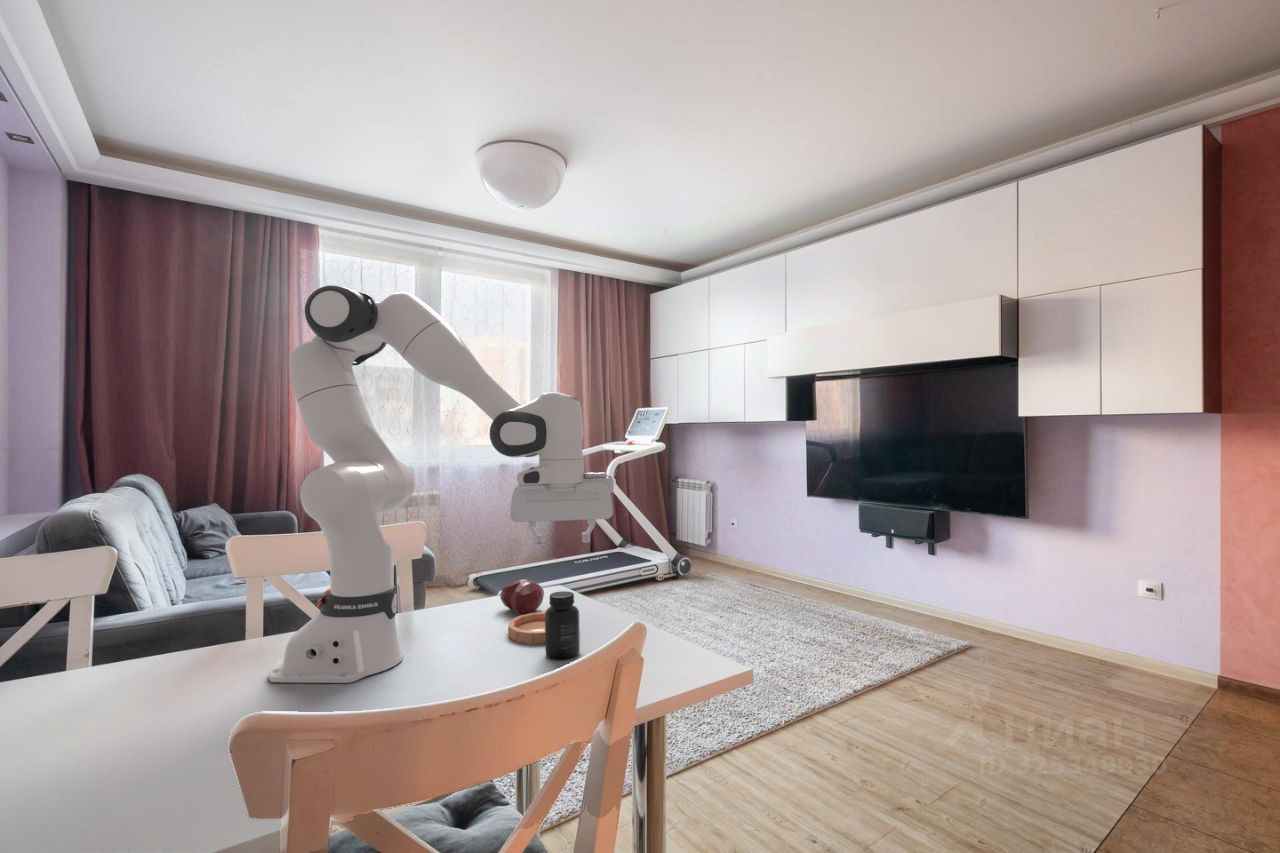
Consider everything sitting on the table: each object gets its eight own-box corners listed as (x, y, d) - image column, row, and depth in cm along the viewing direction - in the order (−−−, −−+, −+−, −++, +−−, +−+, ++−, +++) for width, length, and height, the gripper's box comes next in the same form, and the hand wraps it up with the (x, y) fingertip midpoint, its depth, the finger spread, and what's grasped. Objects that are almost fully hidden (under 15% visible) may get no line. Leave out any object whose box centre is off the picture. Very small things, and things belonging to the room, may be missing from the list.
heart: (534, 598, 157) (498, 611, 151) (530, 570, 156) (494, 581, 150) (556, 611, 147) (519, 624, 141) (552, 580, 146) (515, 592, 140)
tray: (506, 645, 125) (506, 635, 125) (510, 623, 139) (510, 613, 139) (576, 641, 127) (576, 630, 127) (572, 619, 142) (572, 610, 142)
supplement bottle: (582, 648, 123) (582, 589, 123) (575, 661, 116) (575, 599, 116) (549, 647, 124) (549, 589, 124) (541, 660, 117) (540, 598, 117)
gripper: (611, 471, 125) (612, 537, 125) (510, 473, 122) (511, 542, 122) (615, 473, 119) (616, 543, 119) (509, 475, 116) (509, 548, 116)
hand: (562, 542), depth 120 cm, fingers open, 8 cm apart
